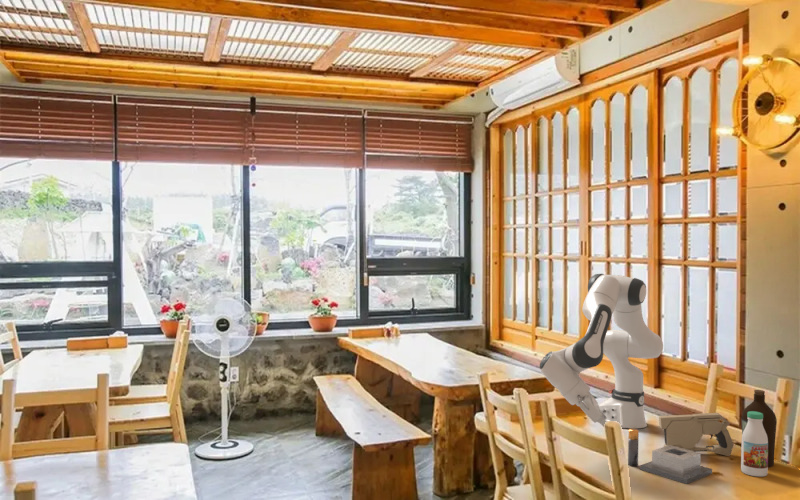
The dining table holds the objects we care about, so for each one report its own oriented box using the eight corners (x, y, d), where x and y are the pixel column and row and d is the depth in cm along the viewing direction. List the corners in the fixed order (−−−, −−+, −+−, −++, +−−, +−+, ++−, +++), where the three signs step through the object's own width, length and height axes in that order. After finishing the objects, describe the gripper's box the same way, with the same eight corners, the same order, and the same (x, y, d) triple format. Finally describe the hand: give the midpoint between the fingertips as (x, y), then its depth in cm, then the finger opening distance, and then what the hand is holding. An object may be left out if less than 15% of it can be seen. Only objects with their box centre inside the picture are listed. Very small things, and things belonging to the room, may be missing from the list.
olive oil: (764, 457, 228) (766, 387, 228) (782, 468, 218) (783, 394, 218) (734, 457, 228) (736, 387, 228) (750, 467, 218) (752, 393, 218)
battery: (626, 464, 219) (626, 429, 219) (631, 462, 221) (632, 428, 221) (634, 467, 217) (635, 431, 217) (639, 465, 219) (640, 430, 218)
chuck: (640, 469, 214) (640, 450, 214) (666, 460, 224) (666, 441, 224) (686, 484, 202) (687, 463, 202) (712, 473, 212) (712, 453, 212)
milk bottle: (735, 470, 215) (736, 410, 215) (752, 468, 218) (753, 408, 217) (755, 478, 208) (756, 416, 208) (773, 475, 210) (774, 414, 210)
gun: (731, 453, 233) (727, 411, 233) (734, 456, 230) (731, 414, 230) (661, 456, 235) (658, 415, 235) (664, 459, 232) (661, 417, 232)
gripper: (586, 393, 212) (616, 425, 210) (582, 380, 232) (610, 409, 230) (571, 406, 213) (602, 437, 211) (569, 392, 233) (597, 421, 231)
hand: (606, 423), depth 221 cm, fingers open, 8 cm apart
